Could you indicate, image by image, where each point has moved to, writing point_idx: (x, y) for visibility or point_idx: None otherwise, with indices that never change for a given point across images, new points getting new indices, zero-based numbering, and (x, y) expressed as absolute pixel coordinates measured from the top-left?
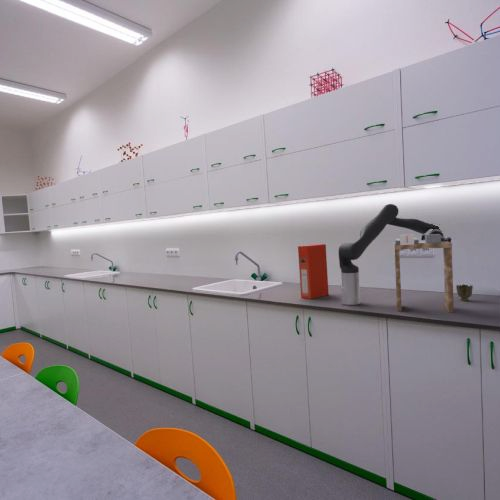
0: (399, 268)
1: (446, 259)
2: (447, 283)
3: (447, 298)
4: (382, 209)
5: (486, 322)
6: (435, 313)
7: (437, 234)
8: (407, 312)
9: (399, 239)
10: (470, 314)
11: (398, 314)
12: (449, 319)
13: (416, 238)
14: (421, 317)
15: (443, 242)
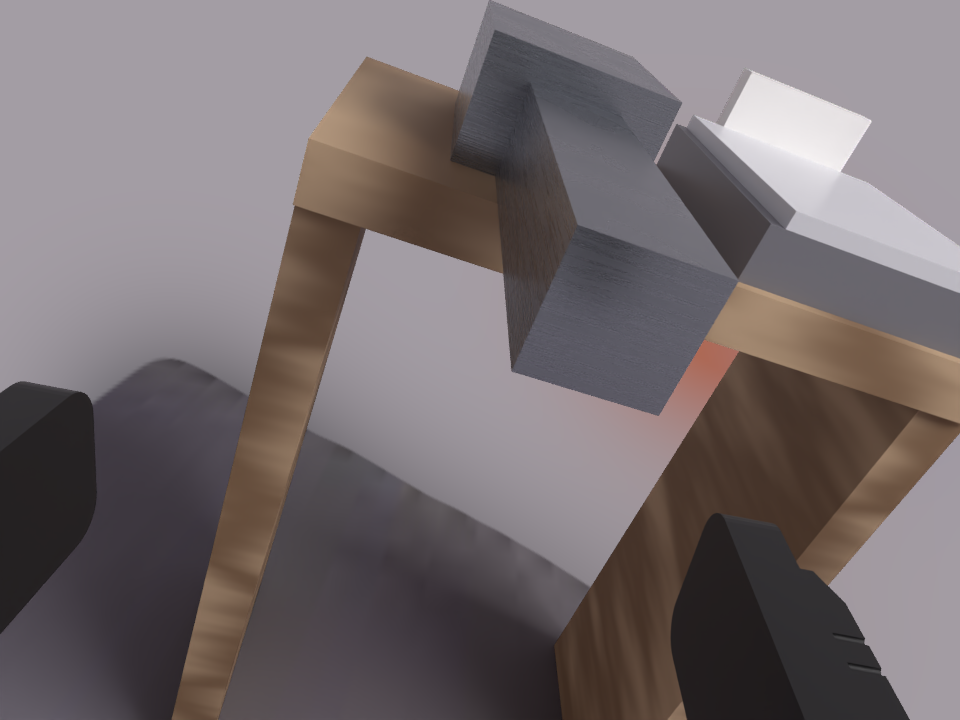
0: (706, 411)
1: (357, 254)
2: (305, 431)
3: (270, 548)
4: None
5: (165, 389)
6: (355, 571)
7: (519, 20)
8: (518, 617)
9: (860, 184)
10: (145, 518)
11: (565, 580)
12: (319, 457)
13: (724, 141)
14: (449, 509)
15: (408, 119)
